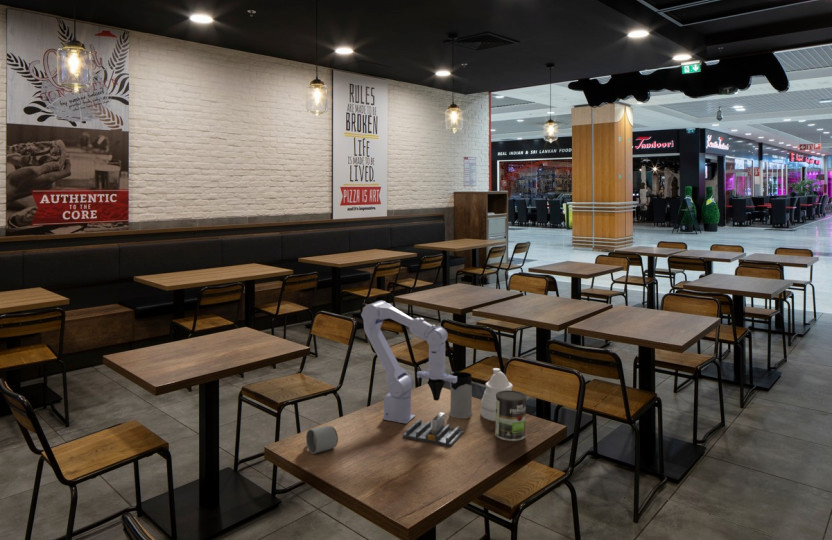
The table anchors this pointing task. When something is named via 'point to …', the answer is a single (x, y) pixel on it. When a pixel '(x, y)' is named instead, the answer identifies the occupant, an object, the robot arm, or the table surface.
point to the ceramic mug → (321, 439)
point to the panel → (438, 423)
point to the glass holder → (461, 395)
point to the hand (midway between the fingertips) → (436, 399)
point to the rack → (425, 433)
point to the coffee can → (510, 415)
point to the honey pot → (493, 394)
